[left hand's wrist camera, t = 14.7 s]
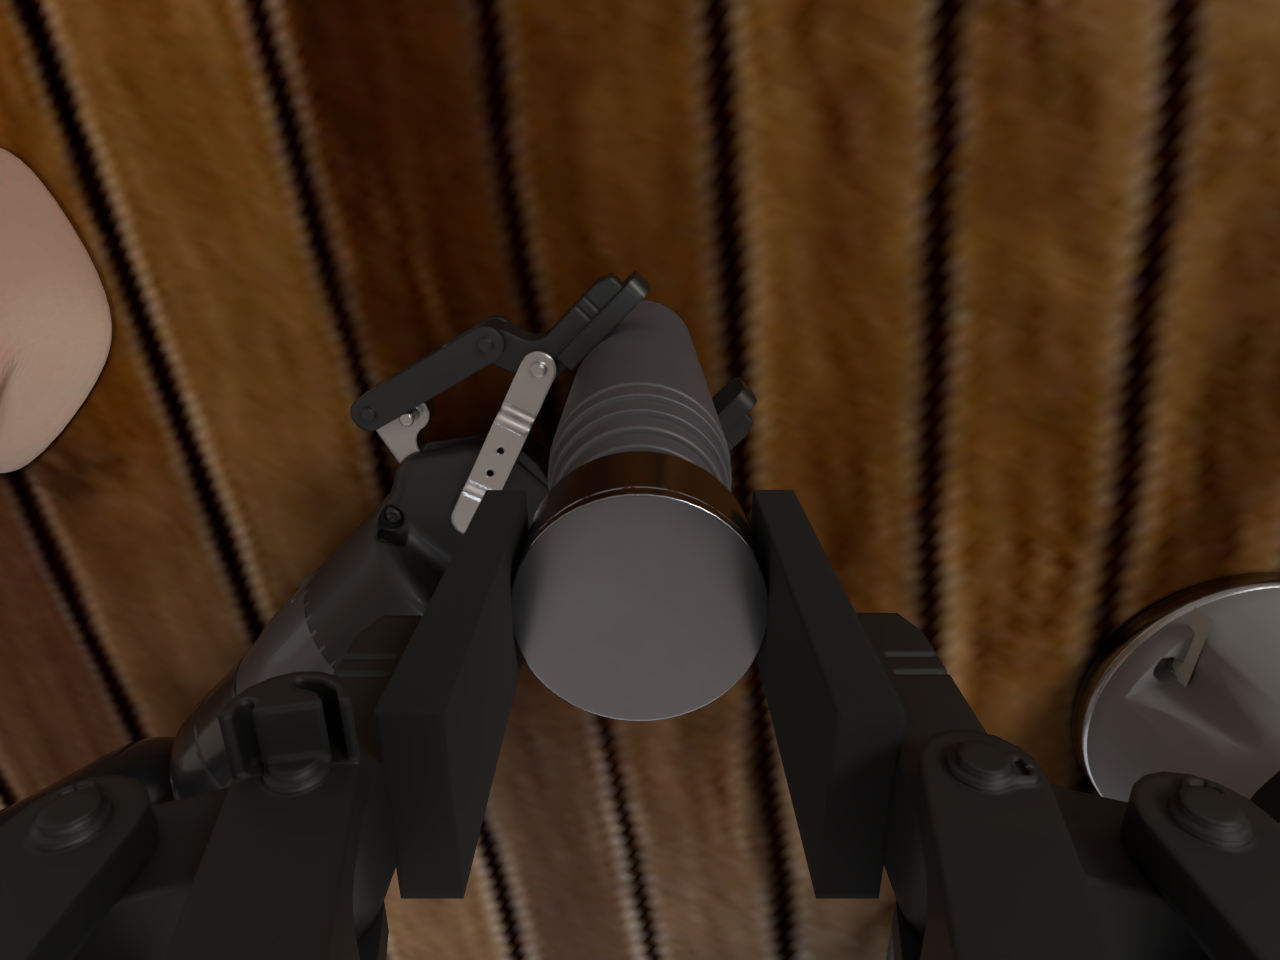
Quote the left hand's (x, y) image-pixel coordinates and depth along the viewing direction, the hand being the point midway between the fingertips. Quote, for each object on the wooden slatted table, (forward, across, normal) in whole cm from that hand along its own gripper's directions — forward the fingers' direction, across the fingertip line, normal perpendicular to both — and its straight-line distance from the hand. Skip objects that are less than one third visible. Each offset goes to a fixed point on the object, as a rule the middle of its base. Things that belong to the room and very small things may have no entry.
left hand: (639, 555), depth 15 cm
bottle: (+19, 0, 0) cm, 19 cm away
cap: (-2, 0, 0) cm, 2 cm away
